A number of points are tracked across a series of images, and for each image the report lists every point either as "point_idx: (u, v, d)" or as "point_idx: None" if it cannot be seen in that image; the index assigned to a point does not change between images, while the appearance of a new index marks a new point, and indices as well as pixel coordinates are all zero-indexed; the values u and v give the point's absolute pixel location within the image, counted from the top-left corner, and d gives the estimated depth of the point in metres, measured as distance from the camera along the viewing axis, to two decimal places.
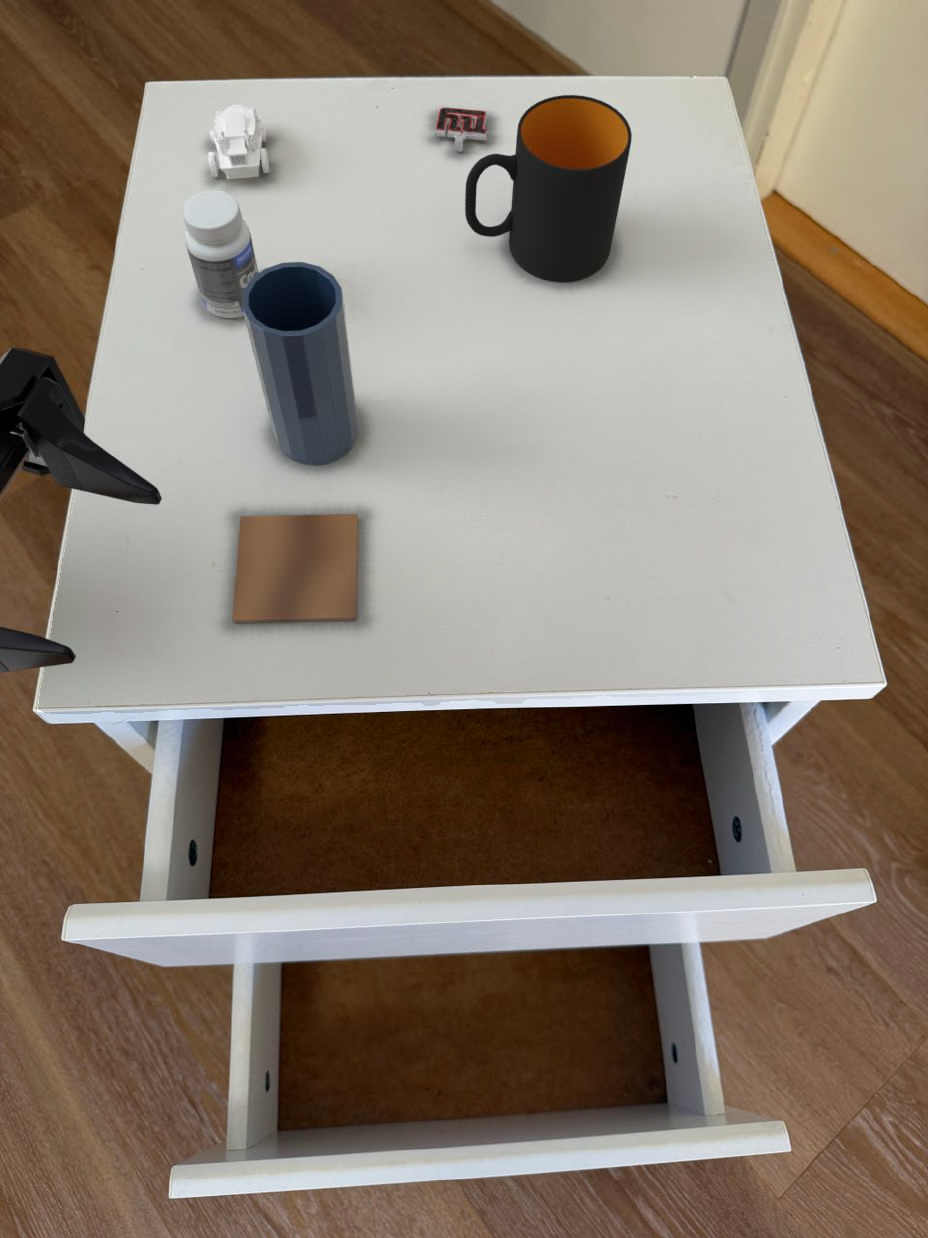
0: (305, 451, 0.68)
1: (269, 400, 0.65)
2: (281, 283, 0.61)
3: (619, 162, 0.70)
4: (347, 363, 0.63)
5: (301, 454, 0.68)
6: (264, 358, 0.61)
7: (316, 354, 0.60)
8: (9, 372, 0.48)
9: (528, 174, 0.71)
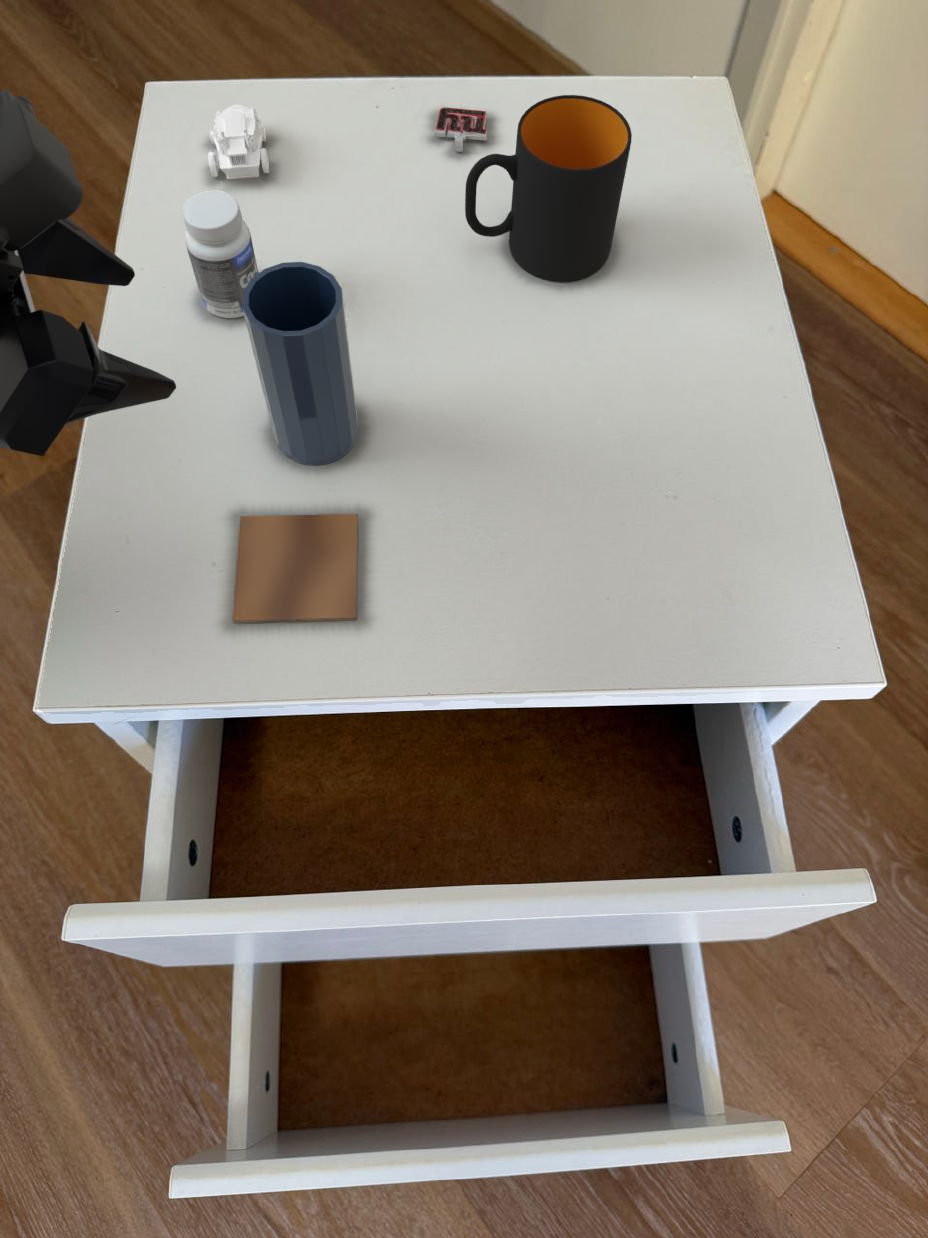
0: (305, 451, 0.68)
1: (269, 400, 0.65)
2: (281, 283, 0.61)
3: (619, 162, 0.70)
4: (347, 363, 0.63)
5: (301, 454, 0.68)
6: (264, 358, 0.61)
7: (316, 354, 0.60)
8: None
9: (528, 174, 0.71)
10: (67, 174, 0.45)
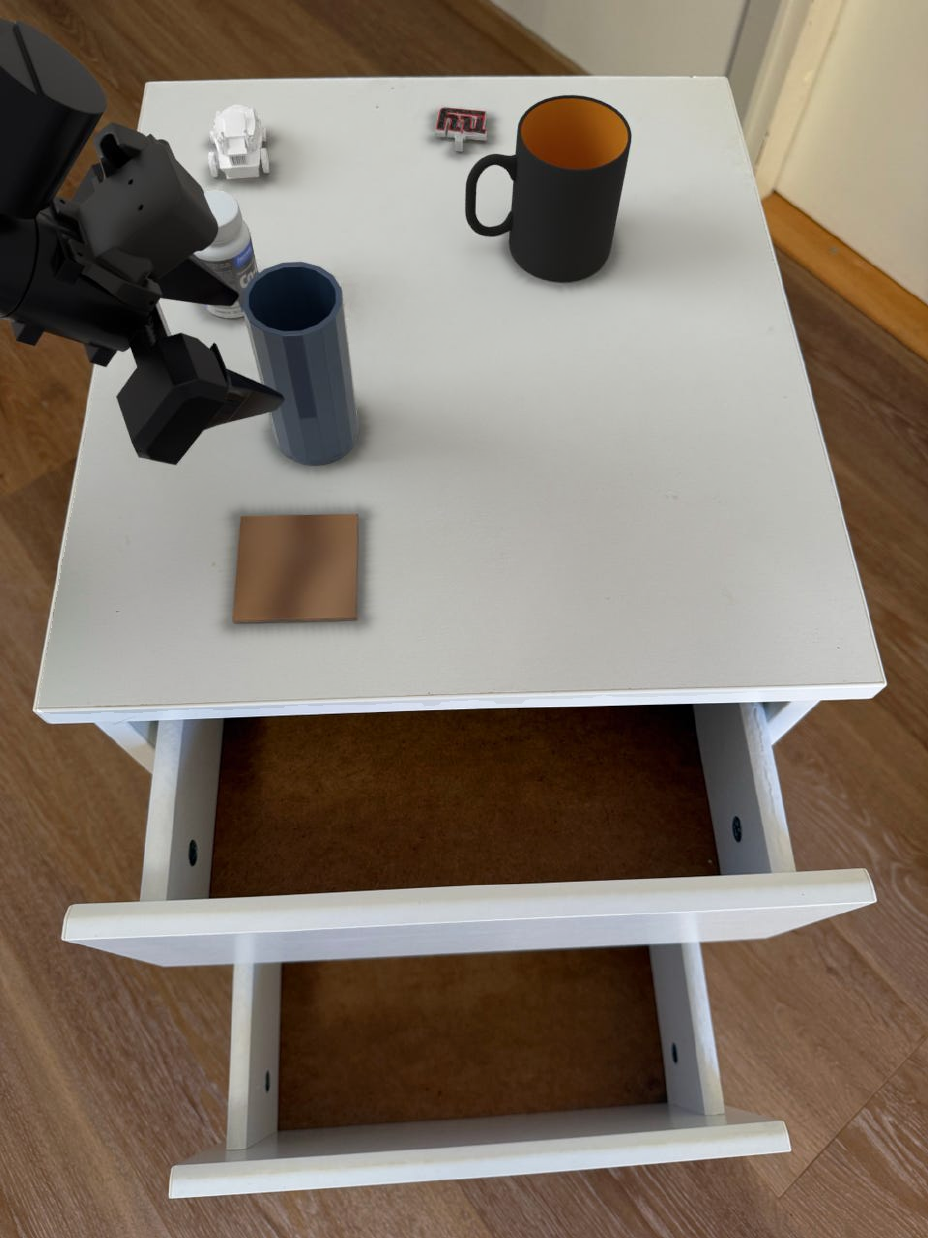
0: (305, 451, 0.68)
1: None
2: (281, 283, 0.61)
3: (619, 162, 0.70)
4: (347, 363, 0.63)
5: (301, 454, 0.68)
6: (264, 358, 0.61)
7: (316, 354, 0.60)
8: None
9: (528, 174, 0.71)
10: (206, 210, 0.50)
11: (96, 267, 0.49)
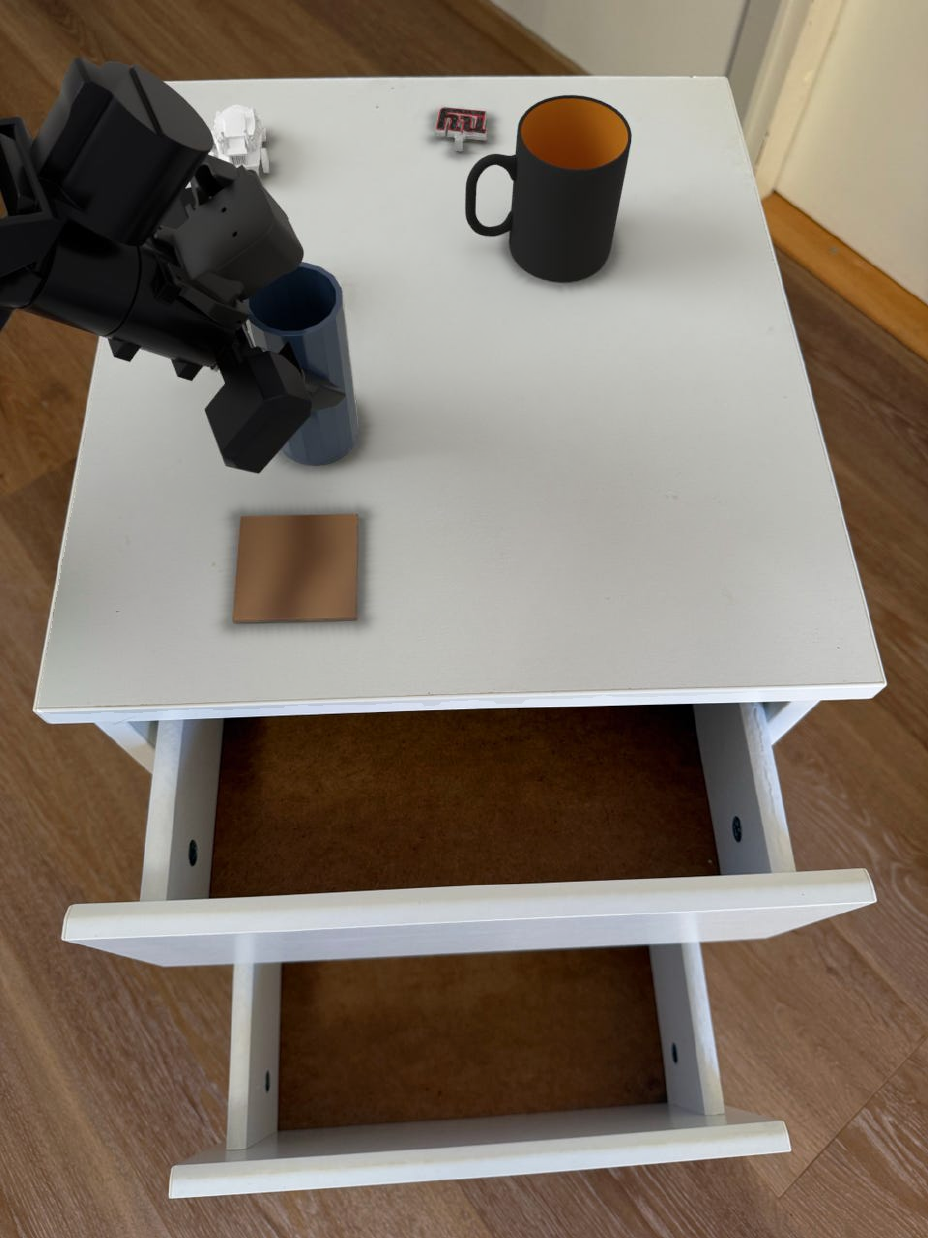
0: (305, 451, 0.68)
1: None
2: (281, 283, 0.61)
3: (619, 162, 0.70)
4: (347, 363, 0.63)
5: (301, 454, 0.68)
6: None
7: (316, 354, 0.60)
8: None
9: (528, 174, 0.71)
10: (293, 236, 0.54)
11: (192, 289, 0.53)
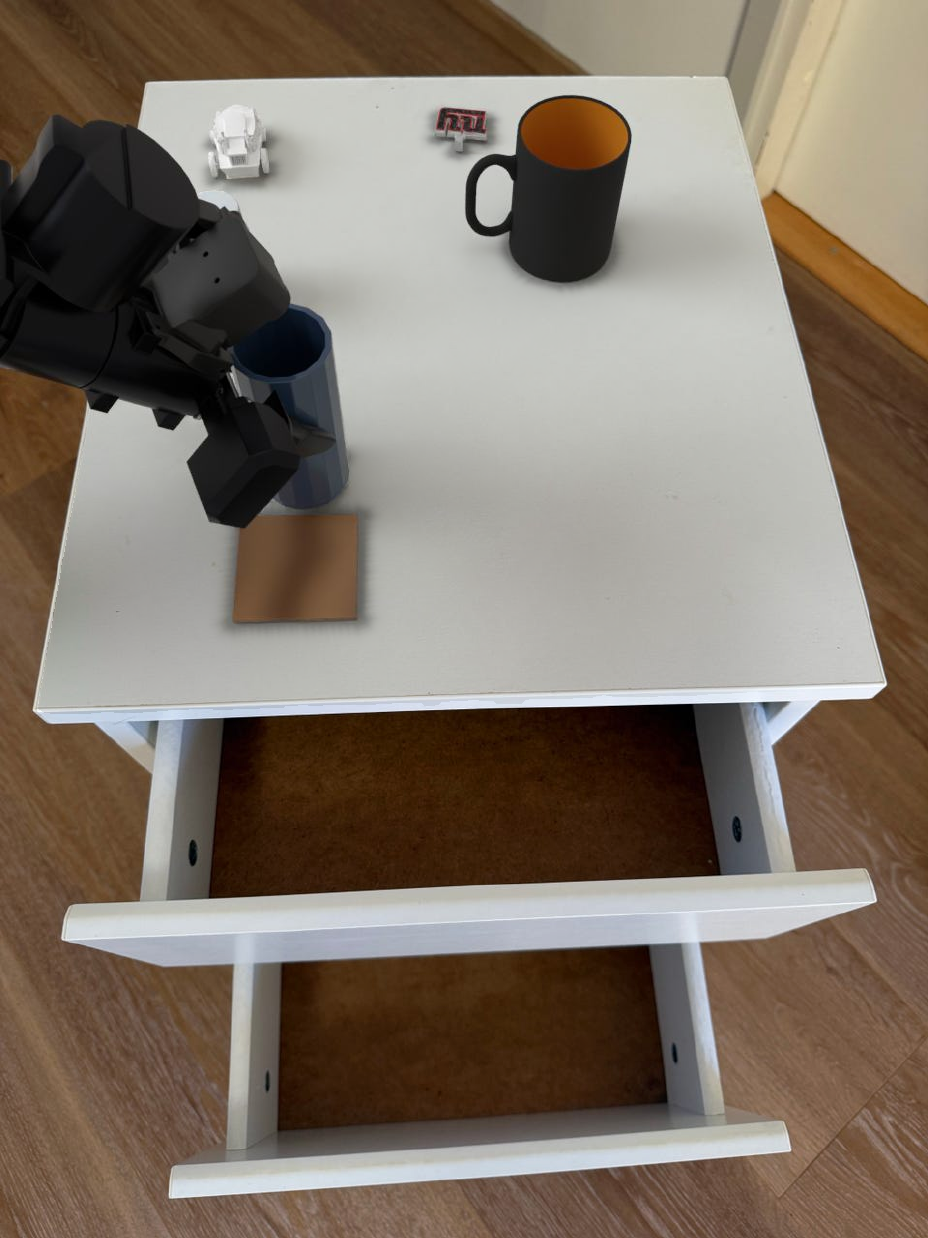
0: (294, 496, 0.65)
1: None
2: (268, 325, 0.59)
3: (619, 162, 0.70)
4: (337, 407, 0.61)
5: (290, 499, 0.66)
6: None
7: (305, 400, 0.57)
8: None
9: (528, 174, 0.71)
10: (279, 281, 0.51)
11: (173, 339, 0.50)
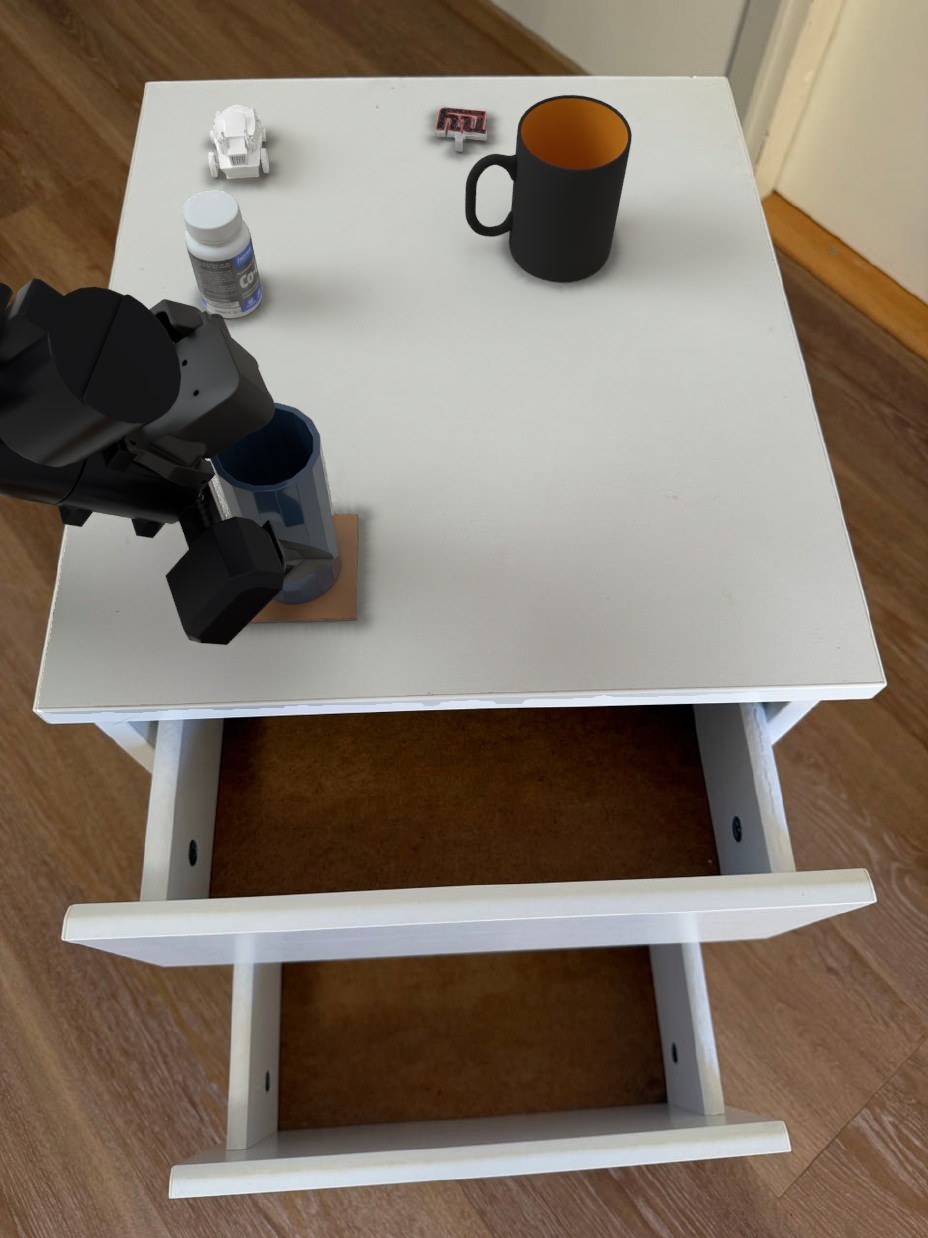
0: (282, 592, 0.62)
1: None
2: None
3: (619, 162, 0.70)
4: (327, 507, 0.58)
5: (278, 594, 0.63)
6: (234, 508, 0.55)
7: (291, 507, 0.54)
8: None
9: (528, 174, 0.71)
10: (263, 391, 0.48)
11: (149, 454, 0.47)
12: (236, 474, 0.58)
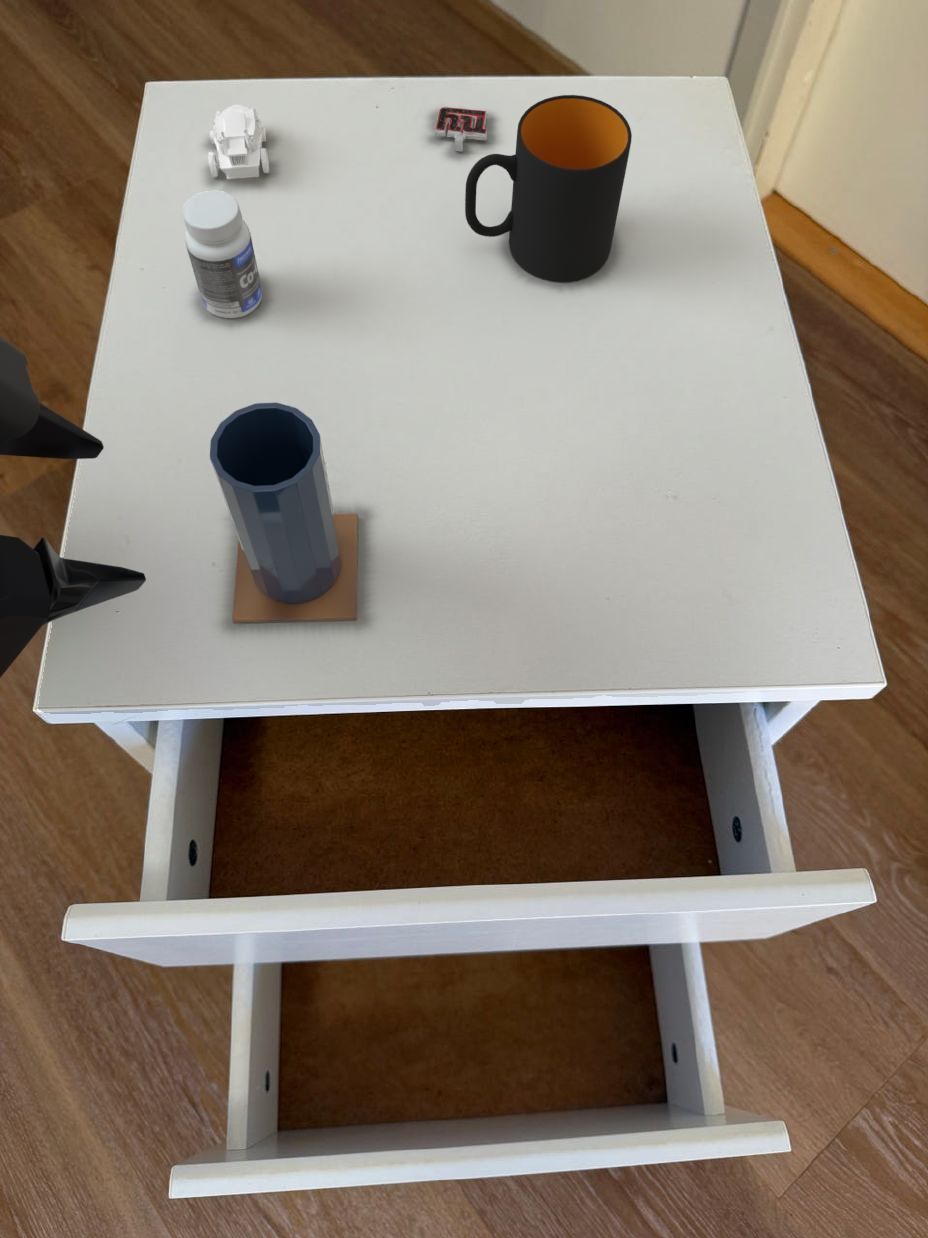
0: (282, 592, 0.62)
1: (242, 543, 0.59)
2: (254, 424, 0.56)
3: (619, 162, 0.70)
4: (327, 507, 0.58)
5: (278, 594, 0.63)
6: (234, 508, 0.55)
7: (291, 507, 0.54)
8: None
9: (528, 174, 0.71)
10: (22, 391, 0.42)
11: None
12: (236, 474, 0.58)
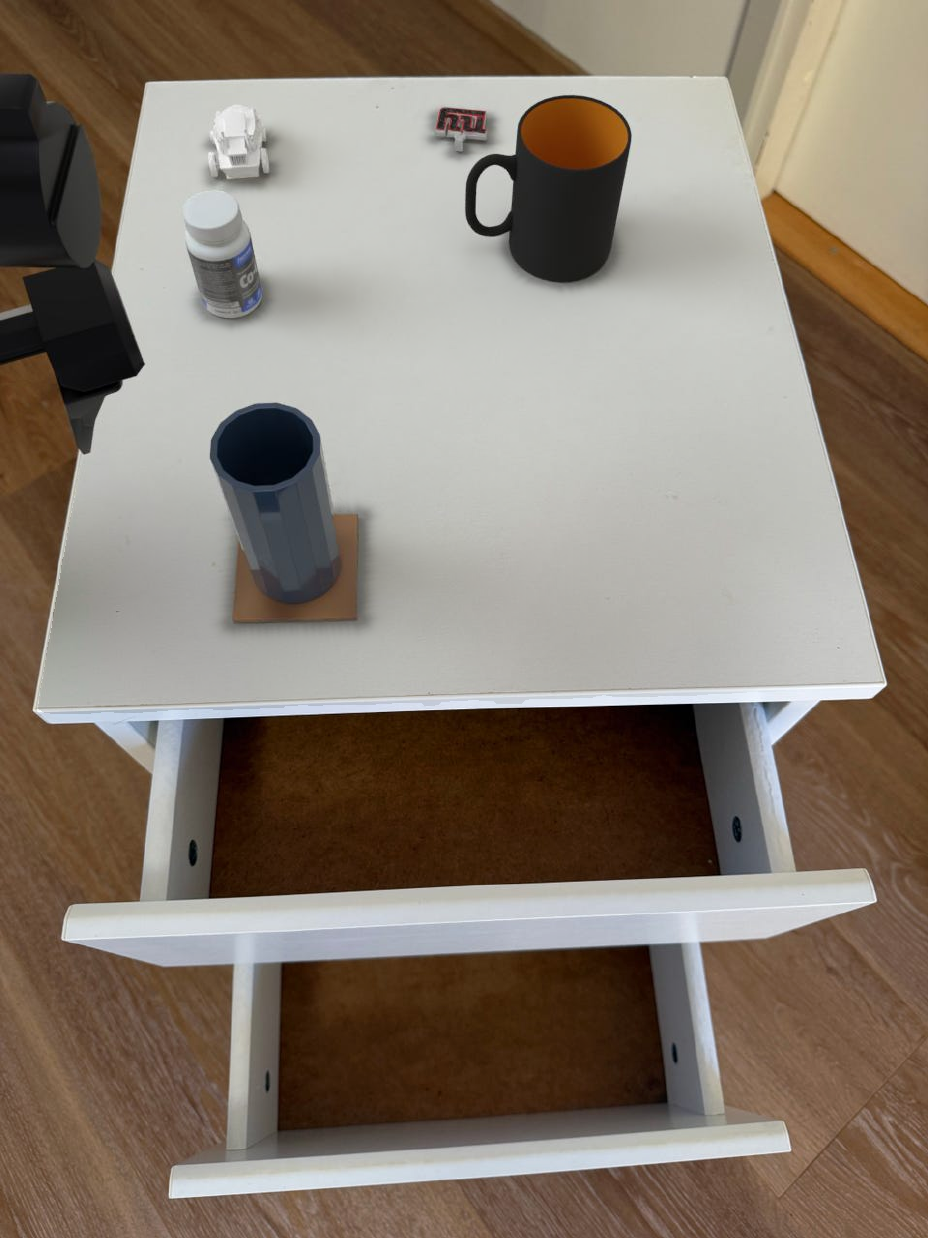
0: (282, 592, 0.62)
1: (242, 543, 0.59)
2: (254, 424, 0.56)
3: (619, 162, 0.70)
4: (327, 507, 0.58)
5: (278, 594, 0.63)
6: (234, 508, 0.55)
7: (291, 507, 0.54)
8: None
9: (528, 174, 0.71)
10: None
11: None
12: (236, 474, 0.58)
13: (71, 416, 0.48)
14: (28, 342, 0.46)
